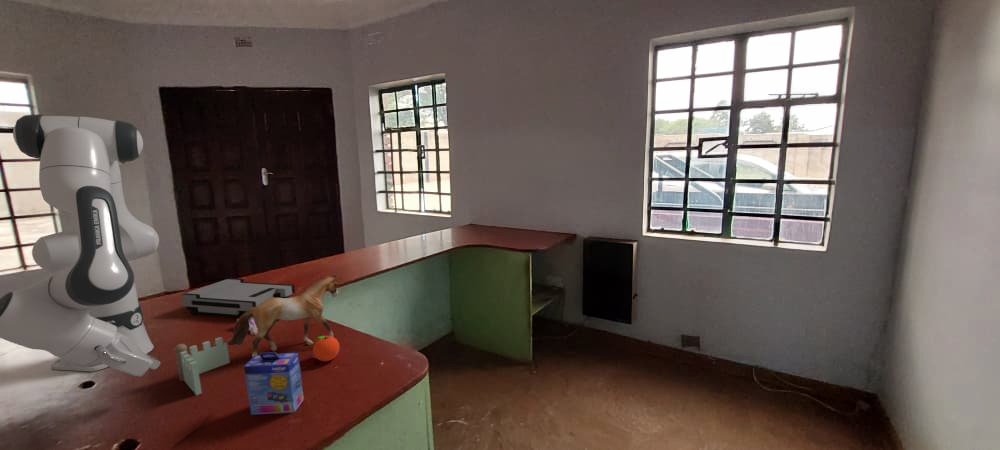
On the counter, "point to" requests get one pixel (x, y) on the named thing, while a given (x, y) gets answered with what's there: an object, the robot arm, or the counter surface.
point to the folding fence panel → (190, 372)
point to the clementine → (326, 348)
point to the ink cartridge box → (274, 383)
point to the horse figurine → (286, 312)
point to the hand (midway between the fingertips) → (156, 364)
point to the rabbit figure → (252, 327)
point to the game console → (232, 297)
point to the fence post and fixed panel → (204, 356)
